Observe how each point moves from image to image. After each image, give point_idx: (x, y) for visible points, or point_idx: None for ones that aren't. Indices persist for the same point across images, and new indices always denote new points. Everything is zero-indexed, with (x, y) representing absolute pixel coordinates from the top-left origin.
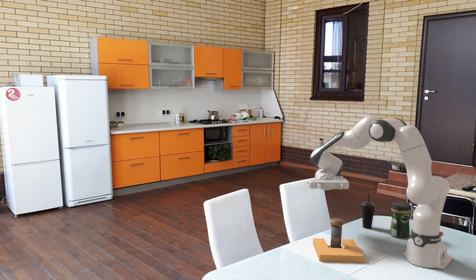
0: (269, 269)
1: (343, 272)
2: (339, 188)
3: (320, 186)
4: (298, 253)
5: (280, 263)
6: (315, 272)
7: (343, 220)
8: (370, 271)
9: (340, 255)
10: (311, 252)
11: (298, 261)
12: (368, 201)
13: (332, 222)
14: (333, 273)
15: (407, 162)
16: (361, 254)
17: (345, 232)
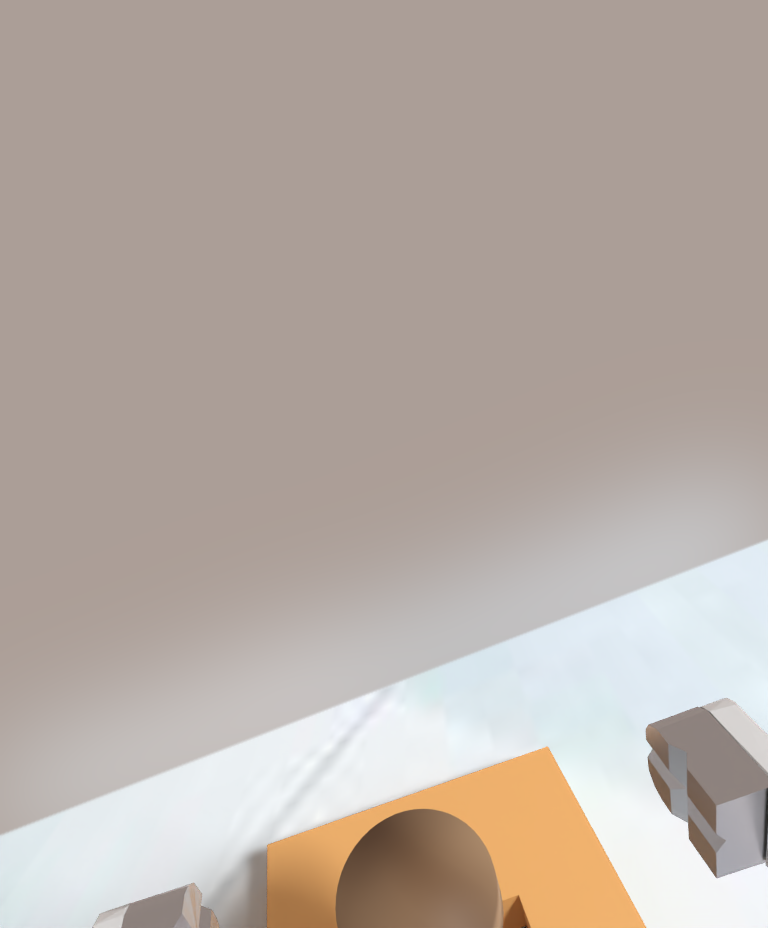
0: (744, 597)
1: (406, 703)
2: (207, 919)
3: (715, 702)
4: None
5: (744, 662)
6: (532, 654)
7: (337, 914)
8: (274, 764)
9: (418, 792)
10: (664, 903)
11: None
12: None
13: (461, 826)
14: (451, 677)
15: None
16: (278, 862)
17: None
